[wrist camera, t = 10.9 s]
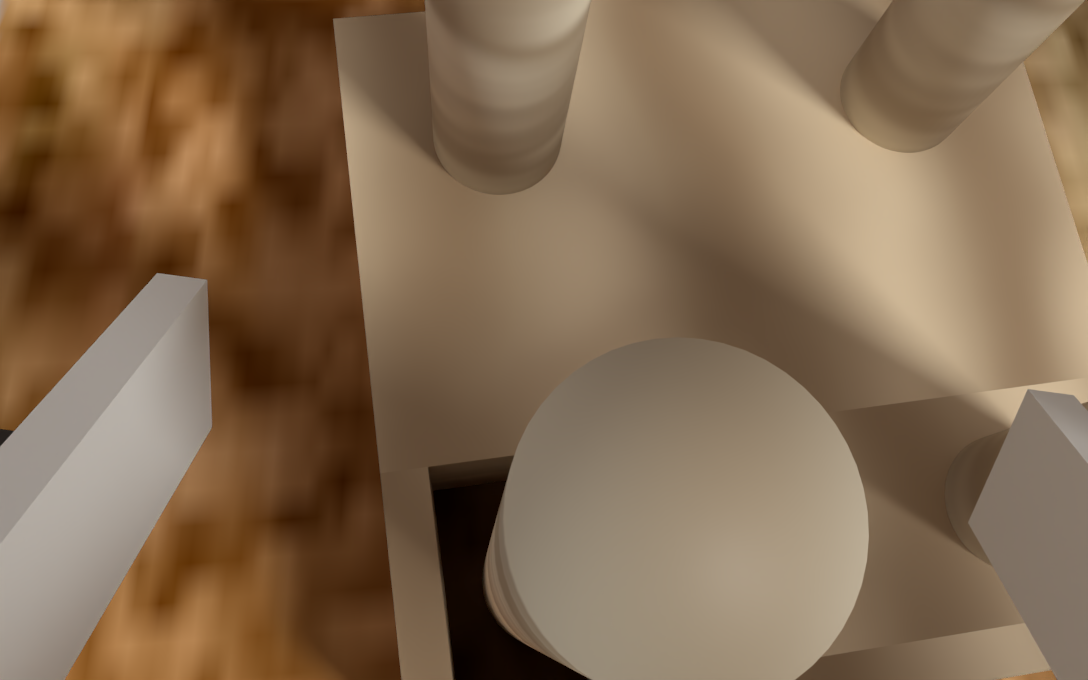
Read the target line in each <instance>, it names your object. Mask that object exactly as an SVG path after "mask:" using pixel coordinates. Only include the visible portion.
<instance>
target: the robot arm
mask: <svg viewBox="0 0 1088 680" xmlns="http://www.w3.org/2000/svg"><path fill="white" fill-rule="evenodd" d="M211 428H212V406H211V376H210V346H209V317H208V287H207V280H206V279H198V278H191V277H183V276H176V275H168V274H161V273H157V274H156V275H155V276H154V277H153V278H152V279H151V280H150V282H149V283H148V284H147V285H146V286H145V287H144V288H143V289H142V290H141V291H140V293H139V294H138V295H137V296H136V297H135V298H134V299H133V300H132V301H131V303H130V304H129V305H128V306H127V307H126V308H125V309H124V310H123V311H122V312H121V314H120V315H119V316H118V317H117V318H116V319H115V320H114V321H113V322H112V324H111V325H110V326H109V327H108V328H107V329H106V330H105V331H104V332H103V333H102V335H101V336H100V337H99V338H98V339H97V340H96V341H95V342H94V343H93V345H92V346H91V347H90V348H89V349H88V350H87V351H86V352H85V353H84V354H83V356H82V357H81V358H80V359H79V360H78V361H77V362H76V363H75V364H74V366H73V367H72V368H71V369H70V370H69V371H68V372H67V373H66V374H65V375H64V377H63V378H62V379H61V380H60V381H59V382H58V383H57V384H56V385H55V387H54V388H53V389H52V390H51V391H50V392H49V393H48V394H47V395H46V396H45V398H44V399H43V400H42V401H41V402H40V403H39V404H38V405H37V406H36V408H35V409H34V410H33V411H32V412H31V413H30V414H29V415H28V416H27V417H26V419H25V420H24V421H23V422H22V423H21V424H20V425H19V426H18V427H17V429H16V430H15V431H10V430H2V429H0V680H65V678H66V676H67V675H68V673H69V671H70V669H71V668H72V666H73V664H74V663H75V661H76V659H77V657H78V656H79V654H80V652H81V651H82V649H83V647H84V646H85V644H86V642H87V640H88V639H89V637H90V635H91V634H92V632H93V630H94V628H95V627H96V625H97V623H98V622H99V620H100V618H101V616H102V615H103V613H104V611H105V610H106V608H107V606H108V604H109V603H110V601H111V599H112V598H113V596H114V594H115V593H116V591H117V589H118V587H119V586H120V584H121V582H122V581H123V579H124V577H125V575H126V574H127V572H128V570H129V569H130V567H131V565H132V563H133V562H134V560H135V558H136V557H137V555H138V553H139V552H140V550H141V548H142V546H143V545H144V543H145V541H146V540H147V538H148V536H149V534H150V533H151V531H152V529H153V528H154V526H155V524H156V522H157V521H158V519H159V517H160V516H161V514H162V512H163V510H164V509H165V507H166V505H167V504H168V502H169V500H170V499H171V497H172V495H173V493H174V492H175V490H176V488H177V487H178V485H179V483H180V481H181V480H182V478H183V476H184V475H185V473H186V471H187V469H188V468H189V466H190V464H191V463H192V461H193V459H194V458H195V456H196V454H197V452H198V451H199V449H200V447H201V446H202V444H203V442H204V440H205V439H206V437H207V435H208V434H209V432H210V430H211ZM968 523H969V525H970V527H971V529H972V531H973V532H974V534H975V536H976V538H977V539H978V541H979V543H980V545H981V546H982V548H983V550H984V552H985V553H986V555H987V557H988V559H989V561H990V562H991V564H992V566H993V568H994V569H995V571H996V573H997V575H998V576H999V578H1000V580H1001V582H1002V583H1003V585H1004V587H1005V589H1006V590H1007V592H1008V594H1009V596H1010V598H1011V599H1012V601H1013V603H1014V605H1015V606H1016V608H1017V610H1018V612H1019V613H1020V615H1021V617H1022V619H1023V620H1024V622H1025V624H1026V626H1027V627H1028V629H1029V631H1030V633H1031V635H1032V636H1033V638H1034V640H1035V642H1036V643H1037V645H1038V647H1039V649H1040V650H1041V652H1042V654H1043V656H1044V657H1045V659H1046V661H1047V663H1048V664H1049V666H1050V668H1051V670H1052V672H1053V673H1054V675H1055V677H1056V679H1057V680H1088V411H1087V410H1086V409H1085V407H1084V406H1083V405H1082V404H1081V403H1080V402H1079V401H1078V399H1077V398H1076V397H1075V396H1074V395H1069V394H1061V393H1054V392H1046V391H1039V390H1031V389H1028V390H1027V392H1026V394H1025V396H1024V399H1023V401H1022V403H1021V405H1020V408H1019V410H1018V412H1017V414H1016V416H1015V419H1014V421H1013V423H1012V425H1011V428H1010V430H1009V432H1008V434H1007V437H1006V439H1005V441H1004V443H1003V446H1002V448H1001V450H1000V452H999V454H998V457H997V459H996V461H995V463H994V466H993V468H992V470H991V472H990V475H989V477H988V479H987V481H986V484H985V486H984V488H983V490H982V492H981V495H980V497H979V499H978V501H977V504H976V506H975V508H974V510H973V513H972V515H971V517H970V519H969V522H968Z"/></svg>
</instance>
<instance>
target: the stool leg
mask: <svg viewBox="0 0 1088 680" xmlns="http://www.w3.org/2000/svg"><path fill="white" fill-rule="evenodd" d="M868 542H869V528H868V511H867V505H866V499H865V493H864V488H863V485H862V481H861V478H860V475H859V472H858V468H857V465H856V463H855V461H854V458H853V456H852V454H851V451H850V449H849V447H848V445H847V443H846V441H845V439H844V438H843V436H842V434H841V433H840V431H839V429H838V427H837V426H836V424H835V423H834V421H833V420H832V419H831V417H830V416H829V415H828V413H827V412H826V411H825V409H824V408H823V407H822V406H821V404H820V403H819V402H818V401H817V400H816V399H815V398H814V397H813V396H812V395H811V394H810V393H809V392H808V391H807V390H806V389H805V388H804V387H803V386H802V385H801V384H799V383H798V382H797V381H796V380H794V379H793V378H792V377H791V376H789V375H788V374H787V373H786V372H784V371H783V370H781V369H779V368H778V367H776V366H775V365H773V364H771V363H770V362H768V361H767V360H765V359H763V358H760V357H758V356H756V355H754V354H752V353H750V352H748V351H745V350H743V349H740V348H736V347H733V346H730V345H727V344H724V343H720V342H715V341H710V340H704V339H696V338H681V337H675V338H659V339H652V340H646V341H641V342H636V343H632V344H629V345H626V346H623V347H620V348H617V349H614V350H611V351H609V352H607V353H605V354H603V355H601V356H599V357H597V358H595V359H593V360H591V361H590V362H588V363H587V364H585V365H584V366H582V367H581V368H579V369H578V370H576V371H575V372H573V373H572V374H571V375H570V376H569V377H567V378H566V379H565V380H564V381H563V382H562V383H561V384H559V385H558V386H557V387H556V388H555V389H554V390H553V391H552V393H551V394H550V395H549V396H548V397H547V398H546V399H545V401H544V402H543V403H542V404H541V405H540V407H539V408H538V410H537V411H536V413H535V414H534V416H533V417H532V419H531V420H530V422H529V423H528V425H527V427H526V429H525V431H524V434H523V436H522V438H521V440H520V442H519V444H518V446H517V449H516V452H515V455H514V458H513V461H512V464H511V467H510V471H509V474H508V478H507V482H506V485H505V489H504V492H503V496H502V500H501V503H500V507H499V510H498V514H497V518H496V521H495V525H494V529H493V532H492V536H491V539H490V543H489V547H488V550H487V554H486V557H485V561H484V565H483V571H482V589H483V595H484V599H485V602H486V605H487V607H488V609H489V611H490V613H491V615H492V617H493V618H494V620H495V621H496V622H497V623H498V625H499V626H500V627H501V628H502V629H503V630H504V631H505V632H507V633H508V634H509V635H511V636H512V637H514V638H515V639H517V640H519V641H521V642H522V643H524V644H526V645H528V646H530V647H532V648H533V649H535V650H537V651H539V652H541V653H543V654H545V655H546V656H548V657H550V658H552V659H554V660H556V661H557V662H559V663H561V664H563V665H565V666H567V667H569V668H570V669H572V670H574V671H576V672H578V673H580V674H581V675H583V676H585V677H587V678H589V679H591V680H795V679H797V678H798V677H799V676H800V675H802V674H803V673H804V672H805V671H807V670H808V669H809V668H810V667H812V666H813V665H814V664H815V663H816V661H817V660H818V659H819V658H820V657H821V656H822V655H823V654H824V653H825V652H826V651H827V650H828V649H829V647H830V646H831V645H832V643H833V642H834V640H835V639H836V637H837V636H838V635H839V633H840V632H841V630H842V629H843V627H844V625H845V623H846V621H847V619H848V617H849V616H850V614H851V612H852V610H853V608H854V605H855V602H856V600H857V597H858V594H859V591H860V588H861V586H862V582H863V577H864V572H865V568H866V563H867V554H868Z"/></svg>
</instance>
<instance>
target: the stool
mask: <svg viewBox="0 0 1088 680" xmlns="http://www.w3.org/2000/svg"><path fill="white" fill-rule="evenodd" d="M1084 1H1085V0H425V12H412V13H399V14H387V15H374V16H362V17H349V18H336V19H333V23H334V33H335V43H336V52H337V62H338V72H339V81H340V91H341V101H342V110H343V120H344V130H345V139H346V149H347V159H348V168H349V178H350V188H351V197H352V207H353V217H354V226H355V236H356V246H357V255H358V265H359V275H360V284H361V294H362V304H363V313H364V323H365V333H366V342H367V352H368V362H369V371H370V381H371V391H372V400H373V410H374V420H375V429H376V439H377V449H378V458H379V468H380V478H381V487H382V497H383V507H384V516H385V526H386V536H387V545H388V555H389V565H390V574H391V584H392V594H393V603H394V613H395V623H396V632H397V642H398V652H399V661H400V671H401V680H456V679H455V670H454V662H453V653H452V645H451V636H450V628H449V619H448V611H447V602H446V594H445V585H444V577H443V568H442V560H441V551H440V543H439V534H438V526H437V517H436V509H435V500H434V492H433V491H435V490H442V489H449V488H457V487H464V486H471V485H478V484H485V483H493V482H500V481H507V478H508V474H509V471H510V467H511V464H512V461H513V458H514V455H515V452H516V449H517V446H518V444H519V442H520V440H521V438H522V436H523V434H524V431H525V429H526V427H527V425H528V423H529V422H530V420H531V419H532V417H533V416H534V414H535V413H536V411H537V410H538V408H539V407H540V405H541V404H542V403H543V402H544V401H545V399H546V398H547V397H548V396H549V395H550V394H551V393H552V391H553V390H554V389H555V388H556V387H557V386H558V385H559V384H561V383H562V382H563V381H564V380H565V379H566V378H567V377H569V376H570V375H571V374H572V373H573V372H575V371H576V370H578V369H579V368H581V367H582V366H584V365H585V364H587V363H588V362H590V361H591V360H593V359H595V358H597V357H599V356H601V355H603V354H605V353H607V352H609V351H611V350H614V349H617V348H620V347H623V346H626V345H629V344H632V343H636V342H641V341H646V340H652V339H659V338H675V337H681V338H696V339H704V340H710V341H715V342H720V343H724V344H727V345H730V346H733V347H736V348H740V349H743V350H745V351H748V352H750V353H752V354H754V355H756V356H758V357H760V358H763V359H765V360H767V361H768V362H770V363H771V364H773V365H775V366H776V367H778V368H779V369H781V370H783V371H784V372H786V373H787V374H788V375H789V376H791V377H792V378H793V379H794V380H796V381H797V382H798V383H799V384H801V385H802V386H803V387H804V388H805V389H806V390H807V391H808V392H809V393H810V394H811V395H812V396H813V397H814V398H815V399H816V400H817V401H818V402H819V403H820V404H821V406H822V407H823V408H824V409H825V411H826V412H827V413H828V415H829V416H830V417H831V419H832V420H833V421H834V423H835V424H836V426H837V427H838V429H839V431H840V433H841V434H842V436H843V438H844V439H845V441H846V443H847V445H848V447H849V449H850V451H851V454H852V456H853V458H854V461H855V463H856V465H857V468H858V472H859V475H860V478H861V481H862V485H863V488H864V493H865V499H866V505H867V511H868V528H869V542H868V554H867V563H866V568H865V572H864V577H863V582H862V586H861V588H860V591H859V594H858V597H857V600H856V602H855V605H854V608H853V610H852V612H851V614H850V616H849V617H848V619H847V621H846V623H845V625H844V627H843V629H842V630H841V632H840V633H839V635H838V636H837V637H836V639H835V640H834V642H833V643H832V645H831V646H830V647H829V649H828V650H827V651H826V652H825V653H824V654H823V655H822V656H821V657H820V658H819V659H818V660H817V661H816V663H815V664H814V665H813V666H812V667H810V668H809V669H808V670H807V671H805V672H804V673H803V674H802V675H800V676H799V677H798V678H797V679H795V680H996V679H1002V678H1008V677H1014V676H1019V675H1025V674H1031V673H1037V672H1042V671H1048V670H1051V668H1050V666H1049V664H1048V663H1047V661H1046V659H1045V657H1044V656H1043V654H1042V652H1041V650H1040V649H1039V647H1038V645H1037V643H1036V642H1035V640H1034V638H1033V636H1032V635H1031V633H1030V631H1029V629H1028V627H1027V626H1026V624H1025V622H1024V620H1023V619H1022V617H1021V615H1020V613H1019V612H1018V610H1017V608H1016V606H1015V605H1014V603H1013V601H1012V599H1011V598H1010V596H1009V594H1008V592H1007V590H1006V589H1005V587H1004V585H1003V583H1002V582H1001V580H1000V578H999V576H998V575H997V573H996V571H995V569H994V568H993V566H992V564H991V562H990V561H989V559H988V557H987V555H986V553H985V552H984V550H983V548H982V546H981V545H980V543H979V541H978V539H977V538H976V536H975V534H974V532H973V531H972V529H971V527H970V525H969V523H968V522H969V519H970V517H971V515H972V513H973V510H974V508H975V506H976V504H977V501H978V499H979V497H980V495H981V492H982V490H983V488H984V486H985V484H986V481H987V479H988V477H989V475H990V472H991V470H992V468H993V466H994V463H995V461H996V459H997V457H998V454H999V452H1000V450H1001V448H1002V446H1003V443H1004V441H1005V439H1006V437H1007V434H1008V432H1009V430H1010V428H1011V425H1012V423H1013V421H1014V419H1015V416H1016V414H1017V412H1018V410H1019V408H1020V405H1021V403H1022V401H1023V399H1024V396H1025V394H1026V392H1027V390H1028V389H1031V390H1039V391H1046V392H1054V393H1061V394H1069V395H1074V396H1075V397H1076V398H1077V399H1078V401H1079V402H1080V403H1081V404H1082V405H1083V406H1084V407H1085V409H1086V410H1087V411H1088V264H1087V260H1086V257H1085V254H1084V251H1083V248H1082V245H1081V241H1080V238H1079V235H1078V232H1077V229H1076V226H1075V223H1074V219H1073V216H1072V213H1071V210H1070V207H1069V204H1068V201H1067V197H1066V194H1065V191H1064V188H1063V185H1062V182H1061V179H1060V175H1059V172H1058V169H1057V166H1056V163H1055V160H1054V156H1053V153H1052V150H1051V147H1050V144H1049V141H1048V138H1047V134H1046V131H1045V128H1044V125H1043V122H1042V119H1041V116H1040V112H1039V109H1038V106H1037V103H1036V100H1035V97H1034V94H1033V90H1032V87H1031V84H1030V81H1029V78H1028V75H1027V72H1026V68H1025V65H1024V62H1023V61H1024V60H1025V59H1026V58H1027V57H1028V56H1029V55H1030V54H1031V53H1032V52H1033V51H1035V50H1036V49H1037V48H1038V47H1039V46H1040V45H1041V44H1042V43H1043V42H1044V41H1045V40H1046V39H1047V38H1048V37H1049V36H1050V35H1051V34H1052V33H1053V32H1054V31H1055V30H1056V29H1057V28H1058V27H1059V26H1060V25H1061V24H1062V23H1063V22H1064V21H1065V20H1066V19H1067V18H1068V17H1069V16H1070V15H1071V14H1072V13H1073V12H1074V11H1075V10H1076V9H1077V8H1078V7H1079V6H1080V5H1081V4H1082V3H1083V2H1084ZM586 680H591V679H586Z"/></svg>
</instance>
